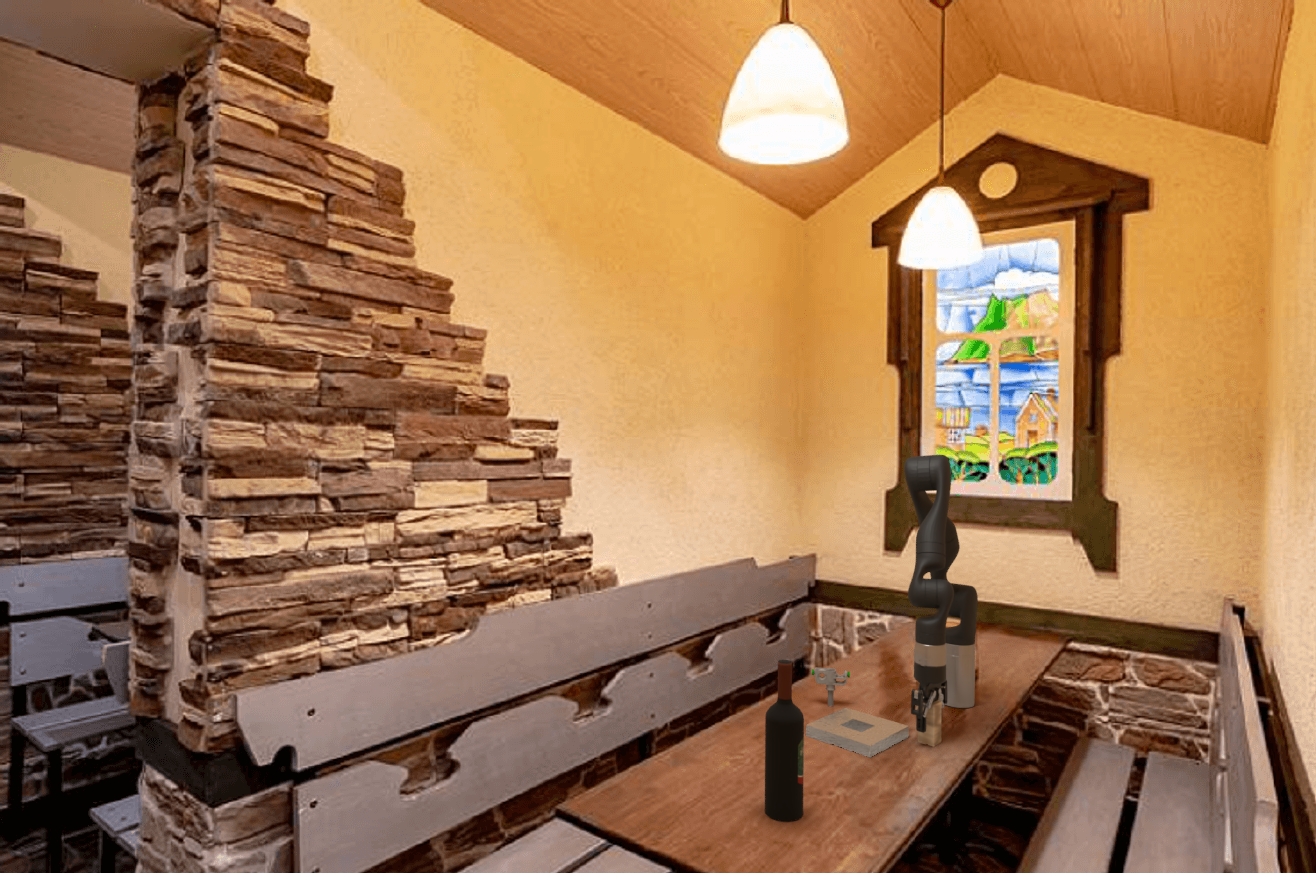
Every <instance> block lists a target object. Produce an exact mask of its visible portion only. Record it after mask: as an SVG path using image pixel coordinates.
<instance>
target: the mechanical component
mask: <svg viewBox="0 0 1316 873" xmlns="http://www.w3.org/2000/svg"><path fill="white" fill-rule="evenodd" d="M821 674H824V676H821ZM811 676H814V680H815V681H814V682H816V684H817V685H825V686H826V687H825V689H826V691H827V706H828V707H829V706H831V707H833V706H834V691H836V686H841V687H843V686H846V685H847V682H848V678H850V677H851V671H847V669H846V670H844V673H842V675H841V674H839V673H838V672H837V669H836V668H832V667H817V666H816V667H814V668H813V669H812V668H811ZM838 680H839V681H838ZM840 680H841V681H840ZM842 680H843V681H842ZM831 707H830V708H831Z"/></svg>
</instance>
